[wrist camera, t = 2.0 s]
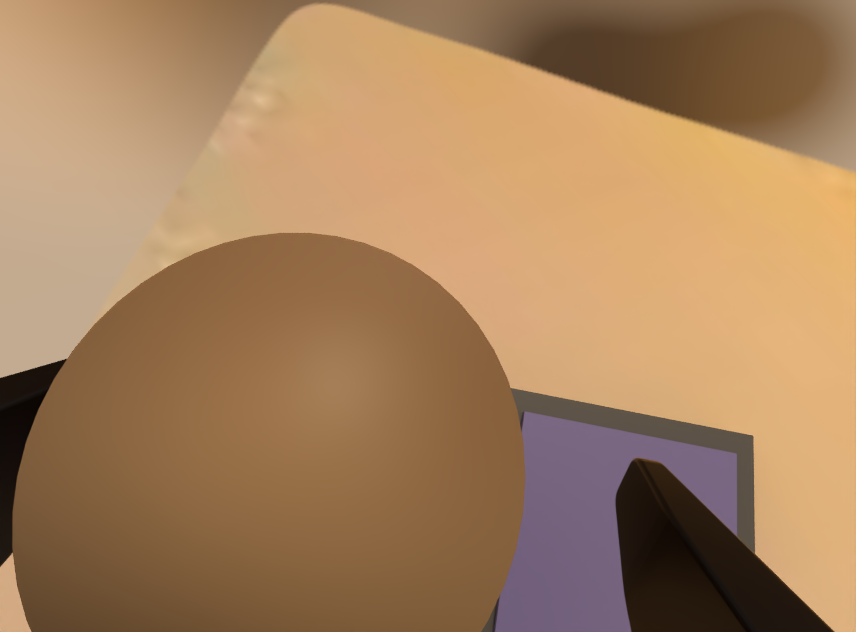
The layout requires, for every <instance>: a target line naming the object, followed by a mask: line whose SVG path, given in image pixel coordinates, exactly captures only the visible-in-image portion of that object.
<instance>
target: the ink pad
mask: <svg viewBox="0 0 856 632" xmlns="http://www.w3.org/2000/svg"><path fill="white" fill-rule="evenodd" d="M511 391H512V395H513V398H514V401H515V404H516V407H517V411H518V416H519V421H520V427H521V432H522V437H523V444H524V460H525V492H524V508H523V516H522V521H521V527H520V532H519V537H518V542H517V548H516V551H515V554H514V558H513V561H512V564H511V567H510V570H509V573H508V576H507V579H506V582H505V585H504V588H503V590H502V592H501V594H500V596H499V598H498V600H497V603H496V605H495V607H494V609H493V611H492V613H491V615H490V618H489V620H488V622H487V623H486V625H485V626H484V628H483V630H482V631H481V632H631V628H630V623H629V618H628V613H627V608H626V602H625V597H624V589H623V580H622V570H621V559H620V549H619V538H618V528H617V518H616V507H615V498H616V493H617V490H618V487H619V485H620V483H621V481H622V479H623V477H624V475H625V473H626V471H627V468H628V466H629V464H630V463H631V461H632V460H633V459H634V458H644V459H649V460H654V461H658V462H660V463H662V464H663V465H664V466H665V467H667V468H668V469H669V470H670V471H671V472H672V473H673V474H674V475H675V476H676V477H677V478H678V479H679V480H680V481H681V482H682V483H683V484H684V485H685V486H686V487H687V488H688V489H689V490H690V491H691V492H692V493H693V494H694V495H695V496H696V497H697V498H698V499H699V500H700V501H701V502H702V503H703V504H704V505H705V506H706V507H707V508H708V509H709V510H710V511H711V512H712V513H714V514H715V515H716V516H717V517H718V518H719V519H720V520H721V521H722V522H723V523H724V524H725V525H726V526H727V527H728V528H729V529H730V530H731V531H732V532H733V533H734V534H735V535H736V536H737V537H738V538H739V539H740V540H741V541H742V542H743V543H744V544H745V545H746V546H747V547H748V548H749V549H750V550H751V551H752V552H753V553H754V554H755V530H754V453H753V436H752V435H747V434H742V433H736V432H731V431H726V430H721V429H716V428H711V427H706V426H701V425H696V424H691V423H686V422H680V421H675V420H670V419H665V418H660V417H655V416H650V415H645V414H640V413H635V412H630V411H624V410H619V409H614V408H609V407H604V406H599V405H594V404H589V403H584V402H579V401H574V400H568V399H563V398H558V397H553V396H548V395H543V394H538V393H533V392H528V391H523V390H518V389H512V388H511Z"/></svg>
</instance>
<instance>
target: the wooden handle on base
mask: <svg viewBox="0 0 856 632" xmlns="http://www.w3.org/2000/svg"><path fill="white" fill-rule="evenodd" d="M524 492H525V460H524V444H523V437H522V432H521V427H520V421H519V416H518V411H517V407H516V404H515V401H514V398H513V395H512V391H511V388H510V385H509V382H508V379H507V377H506V375H505V372H504V370H503V368H502V366H501V364H500V362H499V360H498V358H497V355H496V353H495V351H494V349H493V348H492V346H491V345H490V343H489V342H488V340H487V338H486V337H485V335H484V334H483V332H482V331H481V329H480V327H479V326H478V324H477V323H476V322H475V321H474V320H473V318H472V317H471V316H470V315H469V314H468V312H467V311H466V310H465V309H464V308H463V306H462V305H461V304H460V303H459V302H458V301H457V300H456V299H455V298H454V297H453V296H452V295H451V294H450V293H449V292H447V291H446V290H445V289H444V288H443V287H442V286H441V285H440V284H439V283H438V282H436V281H435V280H433V279H432V278H431V277H429V276H428V275H426V274H425V273H424V272H422V271H421V270H419V269H418V268H417V267H415V266H413V265H412V264H410V263H408V262H406V261H404V260H402V259H400V258H398V257H397V256H395V255H393V254H391V253H389V252H386V251H384V250H381V249H378V248H376V247H373V246H370V245H368V244H365V243H362V242H358V241H354V240H350V239H345V238H341V237H337V236H329V235H321V234H313V233H277V234H269V235H260V236H252V237H248V238H243V239H239V240H235V241H231V242H226V243H223V244H220V245H217V246H214V247H211V248H209V249H206V250H203V251H200V252H197V253H195V254H193V255H191V256H189V257H187V258H185V259H183V260H181V261H178V262H176V263H174V264H172V265H170V266H168V267H167V268H165V269H163V270H162V271H160V272H159V273H157V274H155V275H154V276H152V277H151V278H149V279H147V280H146V281H144V282H143V283H141V284H140V285H139V286H138V287H136V288H135V289H134V290H132V291H131V292H130V293H129V294H127V295H126V296H125V297H124V298H122V299H121V300H120V301H118V302H117V303H116V304H115V305H114V306H113V307H112V308H111V309H110V310H109V311H108V312H107V313H106V314H105V315H104V316H103V317H102V318H101V319H100V320H99V321H98V322H97V323H96V324H95V325H94V326H93V327H92V328H91V329H90V331H89V332H88V333H87V334H86V335H85V337H84V338H83V339H82V340H81V341H80V343H79V344H78V345H77V346H76V347H75V349H74V350H73V351H72V353H71V354H70V356H69V357H68V359H67V360H66V362H65V363H64V365H63V366H62V368H61V369H60V371H59V372H58V374H57V375H56V377H55V378H54V380H53V382H52V384H51V386H50V388H49V390H48V392H47V394H46V396H45V398H44V400H43V402H42V404H41V406H40V407H39V409H38V412H37V415H36V417H35V420H34V423H33V425H32V428H31V430H30V433H29V436H28V438H27V441H26V444H25V448H24V452H23V456H22V460H21V464H20V468H19V472H18V476H17V482H16V490H15V498H14V506H13V540H12V549H13V557H14V565H15V573H16V580H17V586H18V590H19V594H20V598H21V601H22V605H23V609H24V612H25V616H26V620H27V622H28V625H29V627H30V629H31V631H32V632H481V631H482V630H483V628H484V626H485V625H486V623H487V622H488V620H489V618H490V615H491V613H492V611H493V609H494V607H495V605H496V603H497V600H498V598H499V596H500V594H501V592H502V590H503V588H504V585H505V582H506V579H507V576H508V573H509V570H510V567H511V564H512V561H513V558H514V554H515V551H516V548H517V542H518V537H519V532H520V527H521V521H522V516H523V508H524Z"/></svg>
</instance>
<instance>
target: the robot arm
mask: <svg viewBox="0 0 856 632" xmlns="http://www.w3.org/2000/svg"><path fill="white" fill-rule="evenodd" d="M66 360H67V359H65V360H62V361H58V362H55V363H51V364H47V365H44V366H40V367H37V368H34V369H30V370H27V371H23V372H20V373H16V374H13V375H9V376H6V377H3V378H0V567H1V566H2V564H3V563H4V562H5V561H6V560H7V559H8V557H9V556H10V555H11V554H12V553H13V549H12V540H13V506H14V498H15V490H16V482H17V476H18V472H19V468H20V464H21V460H22V456H23V452H24V448H25V444H26V441H27V438H28V436H29V433H30V430H31V428H32V425H33V423H34V420H35V417H36V415H37V412H38V409H39V407H40V406H41V404H42V402H43V400H44V398H45V396H46V394H47V392H48V390H49V388H50V386H51V384H52V382H53V380H54V378H55V377H56V375H57V374H58V372H59V371H60V369H61V368H62V366H63V365H64V363H65V362H66ZM615 507H616V518H617V528H618V538H619V549H620V559H621V570H622V580H623V589H624V597H625V602H626V608H627V613H628V618H629V623H630V628H631V632H834V631H833V630H832V629H831V628H830V627H829V626H828V625H827V624H826V623H825V622H824V621H823V620H822V619H821V618H820V617H819V616H818V615H817V614H816V613H815V612H814V611H813V610H812V609H811V608H810V607H809V606H808V605H807V604H806V603H804V602H803V601H802V600H801V599H800V598H799V597H798V596H797V595H796V594H795V593H794V592H793V591H792V590H791V589H790V588H789V587H788V586H787V585H786V584H785V583H784V582H783V581H782V580H781V579H780V578H779V577H778V576H777V575H776V574H775V573H774V572H773V571H772V570H771V569H770V568H769V567H768V566H767V565H766V564H765V563H764V562H763V561H762V560H761V559H760V558H758V557H757V556H756V555H755V554H754V553H753V552H752V551H751V550H750V549H749V548H748V547H747V546H746V545H745V544H744V543H743V542H742V541H741V540H740V539H739V538H738V537H737V536H736V535H735V534H734V533H733V532H732V531H731V530H730V529H729V528H728V527H727V526H726V525H725V524H724V523H723V522H722V521H721V520H720V519H719V518H718V517H717V516H716V515H715V514H714V513H712V512H711V511H710V510H709V509H708V508H707V507H706V506H705V505H704V504H703V503H702V502H701V501H700V500H699V499H698V498H697V497H696V496H695V495H694V494H693V493H692V492H691V491H690V490H689V489H688V488H687V487H686V486H685V485H684V484H683V483H682V482H681V481H680V480H679V479H678V478H677V477H676V476H675V475H674V474H673V473H672V472H671V471H670V470H669V469H668V468H667V467H665V466H664V465H663V464H662V463H660V462H658V461H654V460H649V459H644V458H634V459H633V460H632V461H631V463H630V464H629V466H628V468H627V471H626V473H625V475H624V477H623V479H622V481H621V483H620V485H619V487H618V490H617V493H616V498H615Z"/></svg>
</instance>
